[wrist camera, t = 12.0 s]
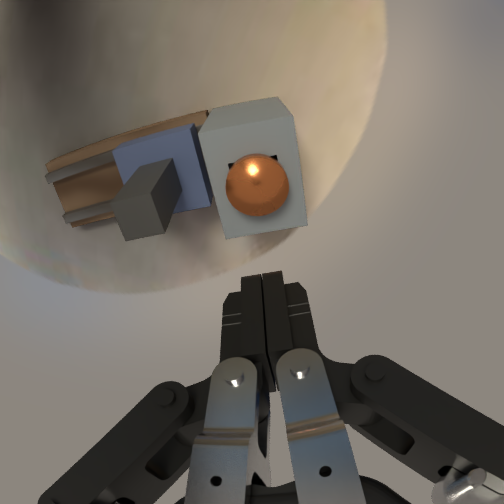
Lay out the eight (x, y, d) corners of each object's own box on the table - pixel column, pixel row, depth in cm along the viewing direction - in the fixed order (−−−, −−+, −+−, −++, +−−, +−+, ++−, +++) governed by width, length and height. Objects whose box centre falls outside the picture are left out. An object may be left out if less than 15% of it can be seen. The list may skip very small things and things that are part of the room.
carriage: (121, 143, 26) (74, 184, 18) (194, 122, 25) (171, 155, 18) (144, 209, 30) (113, 268, 22) (213, 194, 29) (201, 252, 22)
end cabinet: (212, 108, 27) (197, 133, 19) (277, 96, 27) (293, 115, 18) (231, 188, 32) (227, 243, 24) (290, 178, 31) (308, 230, 23)
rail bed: (52, 159, 29) (41, 167, 27) (207, 109, 27) (204, 114, 25) (77, 220, 33) (69, 231, 31) (226, 186, 32) (224, 195, 30)
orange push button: (224, 140, 24) (219, 165, 19) (275, 130, 24) (284, 153, 19) (235, 185, 26) (232, 220, 21) (283, 177, 26) (292, 210, 21)
